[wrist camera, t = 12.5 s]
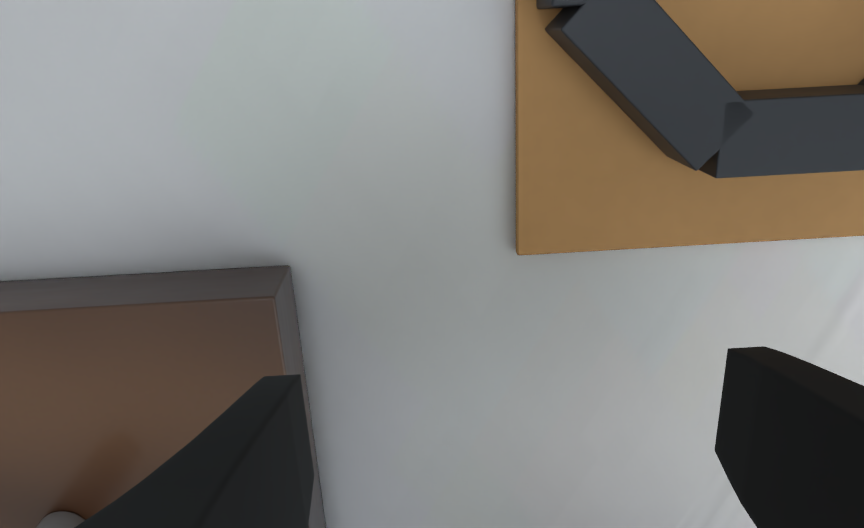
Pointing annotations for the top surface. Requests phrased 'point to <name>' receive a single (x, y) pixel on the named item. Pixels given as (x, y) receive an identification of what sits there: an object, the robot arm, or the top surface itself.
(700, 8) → the mat
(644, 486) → the top surface
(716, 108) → the headband ring
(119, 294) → the stand
